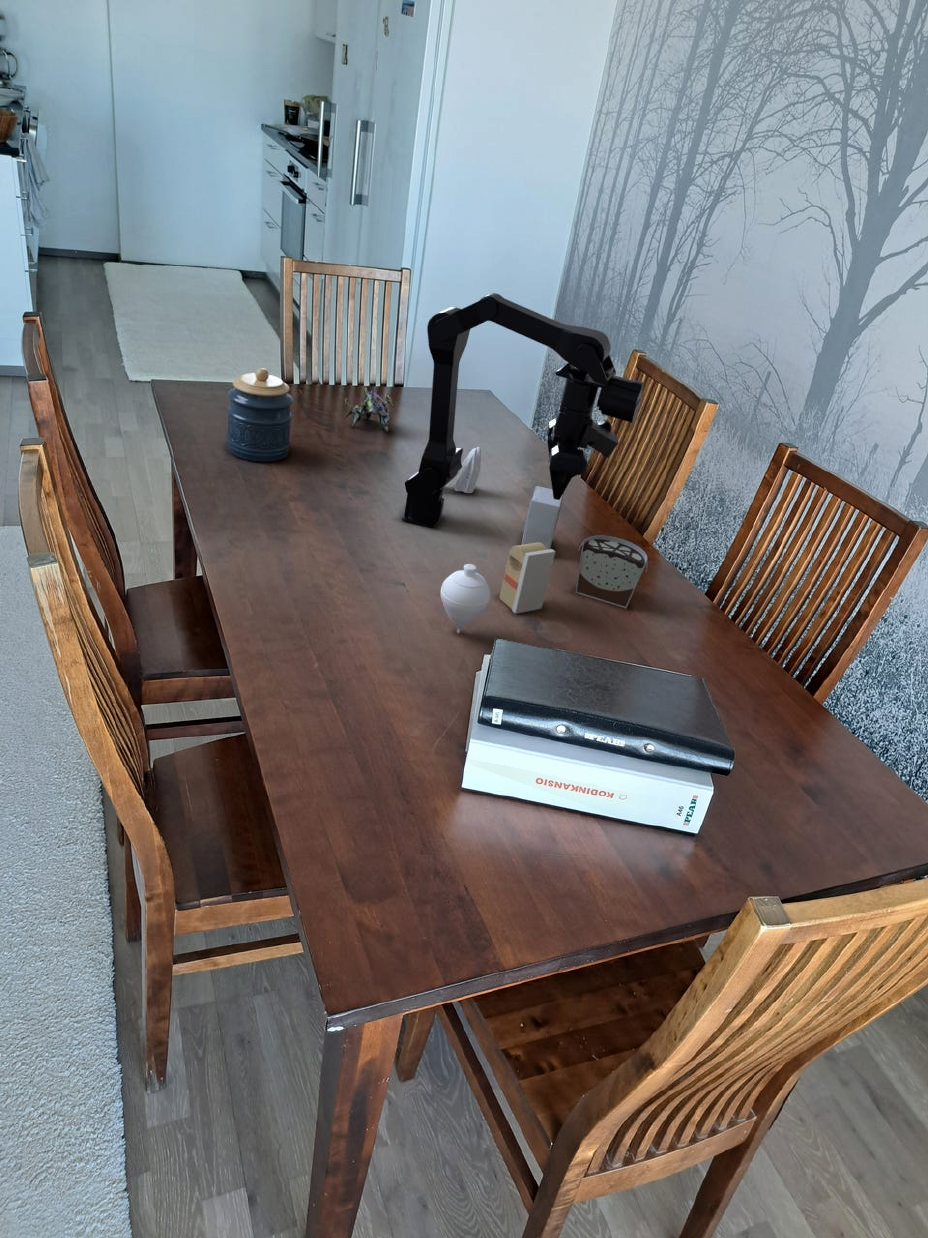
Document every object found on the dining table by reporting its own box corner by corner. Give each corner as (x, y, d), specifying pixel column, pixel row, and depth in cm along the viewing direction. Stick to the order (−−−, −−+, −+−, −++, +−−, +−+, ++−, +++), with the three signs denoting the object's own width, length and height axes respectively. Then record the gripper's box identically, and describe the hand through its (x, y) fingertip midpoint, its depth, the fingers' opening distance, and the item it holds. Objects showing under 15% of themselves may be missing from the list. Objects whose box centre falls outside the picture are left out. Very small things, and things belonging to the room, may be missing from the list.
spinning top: (447, 649, 137) (459, 581, 131) (426, 623, 143) (436, 556, 137) (490, 643, 141) (504, 576, 135) (468, 617, 146) (480, 552, 140)
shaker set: (422, 492, 187) (430, 441, 181) (418, 483, 190) (426, 433, 184) (478, 495, 190) (487, 445, 185) (473, 487, 194) (482, 438, 188)
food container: (640, 596, 163) (655, 547, 158) (634, 611, 158) (650, 561, 153) (574, 576, 165) (587, 527, 160) (567, 590, 160) (580, 540, 155)
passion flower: (381, 451, 217) (400, 424, 207) (337, 441, 212) (355, 412, 202) (380, 413, 221) (399, 384, 212) (338, 402, 217) (355, 372, 207)
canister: (301, 454, 193) (308, 372, 184) (259, 468, 183) (263, 382, 174) (256, 434, 198) (260, 354, 189) (212, 447, 188) (215, 363, 179)
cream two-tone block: (496, 597, 154) (509, 540, 148) (522, 592, 157) (535, 536, 151) (515, 614, 150) (528, 555, 144) (541, 608, 153) (555, 551, 147)
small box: (548, 557, 170) (560, 507, 165) (519, 550, 171) (530, 500, 165) (552, 540, 177) (564, 491, 172) (525, 534, 178) (536, 484, 172)
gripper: (627, 433, 148) (602, 518, 156) (617, 399, 164) (595, 478, 172) (560, 420, 148) (539, 506, 155) (557, 387, 164) (538, 467, 172)
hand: (555, 489), depth 164 cm, fingers open, 9 cm apart
